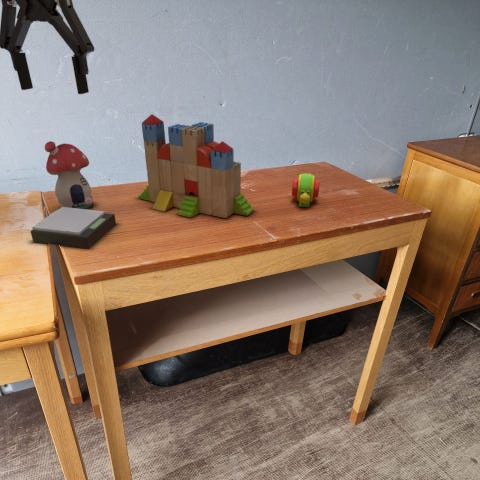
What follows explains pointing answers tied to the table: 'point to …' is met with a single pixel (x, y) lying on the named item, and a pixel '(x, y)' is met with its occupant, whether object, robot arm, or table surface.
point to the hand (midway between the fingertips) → (55, 91)
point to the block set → (191, 171)
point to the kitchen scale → (73, 227)
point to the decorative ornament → (69, 175)
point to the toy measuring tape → (305, 189)
